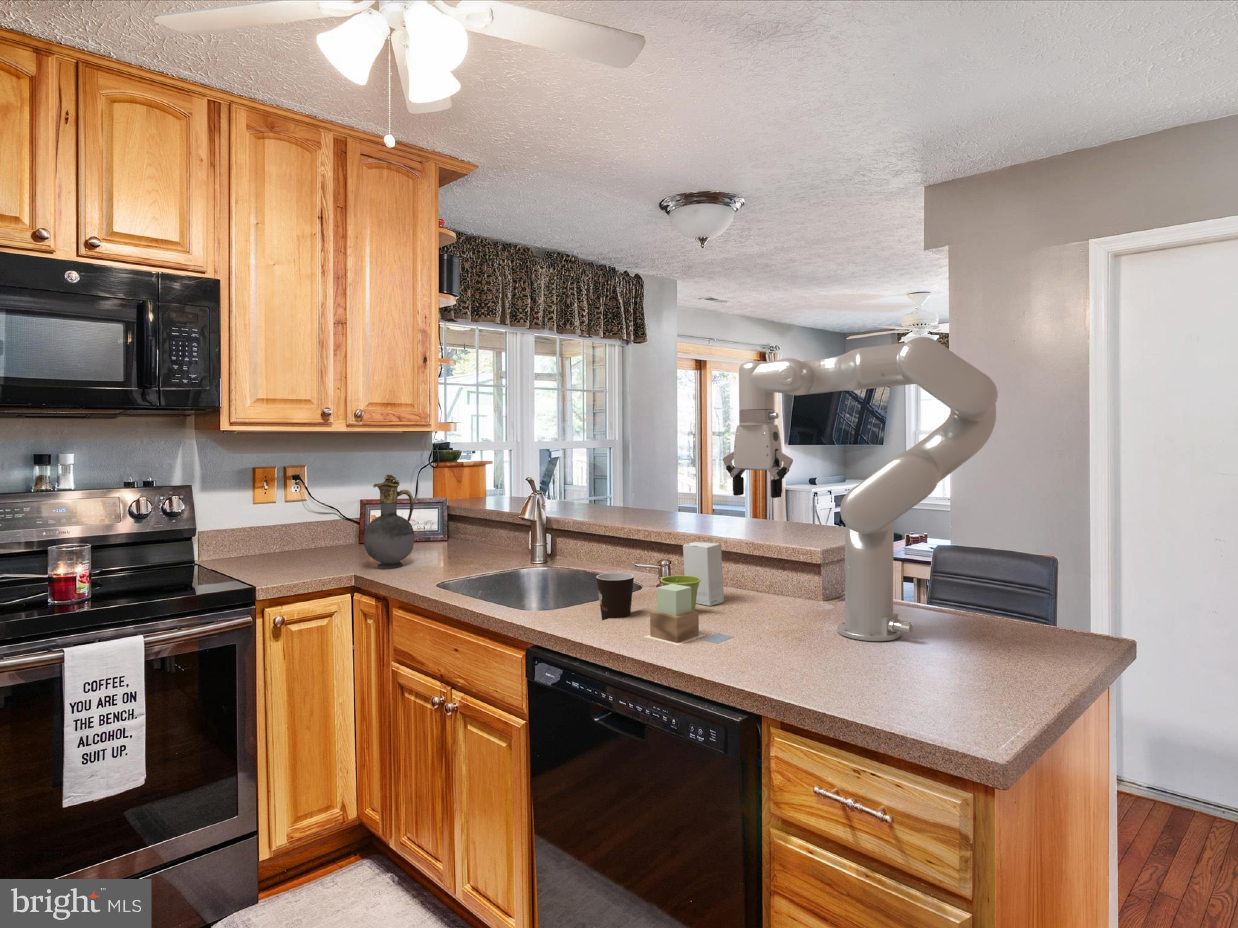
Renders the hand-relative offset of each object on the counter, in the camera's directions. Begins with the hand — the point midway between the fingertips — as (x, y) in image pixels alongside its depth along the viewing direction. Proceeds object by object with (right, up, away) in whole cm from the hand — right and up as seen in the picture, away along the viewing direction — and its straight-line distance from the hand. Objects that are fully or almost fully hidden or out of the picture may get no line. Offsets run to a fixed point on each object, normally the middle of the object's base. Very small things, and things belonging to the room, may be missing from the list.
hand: (757, 496), depth 160 cm
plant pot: (-16, -28, +9) cm, 34 cm away
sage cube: (-19, -23, -12) cm, 32 cm away
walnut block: (-19, -28, -12) cm, 36 cm away
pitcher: (-104, -27, +77) cm, 132 cm away
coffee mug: (-31, -29, +8) cm, 43 cm away
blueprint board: (-18, -29, -12) cm, 36 cm away
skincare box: (-9, -28, +22) cm, 36 cm away
